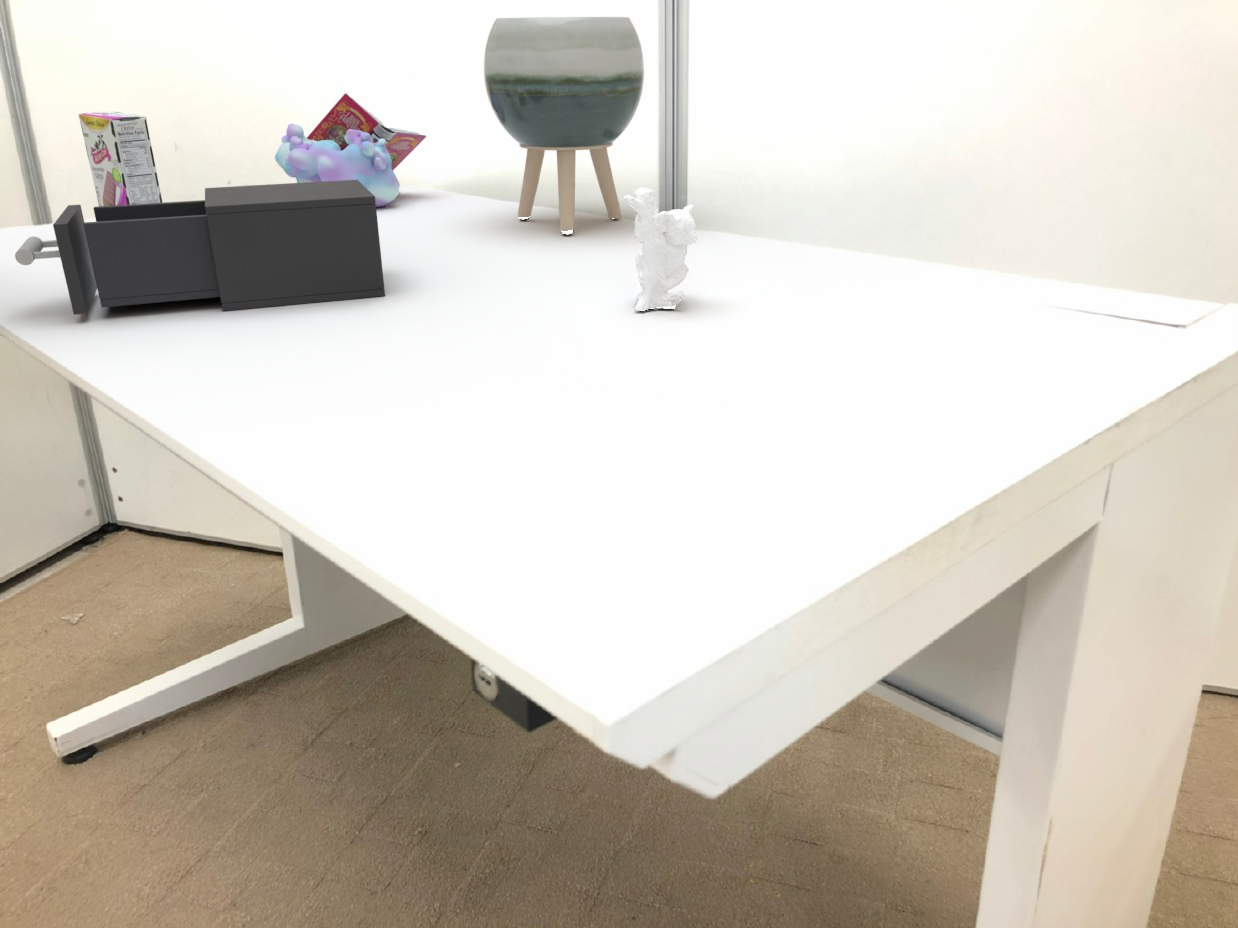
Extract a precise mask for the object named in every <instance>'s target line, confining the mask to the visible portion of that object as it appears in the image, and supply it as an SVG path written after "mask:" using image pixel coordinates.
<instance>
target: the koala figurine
mask: <svg viewBox="0 0 1238 928" xmlns="http://www.w3.org/2000/svg"><path fill="white" fill-rule="evenodd" d="M622 198H623V201H624V202H625V203H626V204H627V205H628V206H629V207H630V208H632V209H633V210H634V212H636V215H635V218H634V236H635V238H636V240H637V241H638V243H641V244H642V248H641V251H639V252H637V253H636V256H635V268H636V270H637V271H636V272H637V279H638V282H639V286H640V287H641V288H642V291H641V292H639V293H637V294H636V296H635V301H636V304H635V307H634V311H636V310H638V311H641V310H647V309H651V308H656V307H663V306H666V307H667V306H669V307H670V306H671V307H672V306H675V305H677V306H679V304H680V303H681V302H682V301H683V300H684V299H685V298H686V293H685V291H684V290H677V291H674V292H669V291H670V290H672V289H674V288H675V287H677V286H680V284H681V283H683V281H684V280H685V279H686V277H687V275H688V273H689V268H688V266H687V264H685V260H686V256H687V254H688V246H691V245H692V244H695V243H696V241H697V240H698V237H697V234H696V232H695V230H696V228H697V224H696V220H695V219H694V217H693V214H694V213H693V212H694V210H695V209H694V208H695V206H694V205H693V204H688V205H686V206H684V207H683V208H682V209H681V208H675V209H671V210H662V211H660V212H659V206H658V202H657V201H658V200H657V193H656V191H654V189H652V188H647V187H643V186H641V187H638V188H637V189H636V190H635V191H634V197H633V196H632V195H630V194H626V195H624V196H623V197H622ZM638 311H637V312H638ZM647 311H648V310H647Z"/></svg>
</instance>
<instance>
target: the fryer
mask: <svg viewBox="0 0 1238 928" xmlns="http://www.w3.org/2000/svg"><path fill="white" fill-rule="evenodd" d="M204 200H205V210H206V216H207V222H208V228H209V234H210V240H211V246H212V251H213V257H214V263H215V269H216V275H217V281H218V287H219V293H220V297H219V298H220V303H221V304H220V305H221V310H222V312H229V311H239V310H250V309H260V308H261V309H262V308H271V307H282V306H293V305H303V304H314V303H324V302H336V301H346V300H359V299H368V298H378V297H379V298H380V297H385V296H386V291H385V281H384V271H383V261H382V253H381V252H382V251H381V240H380V233H379V223H378V222H379V221H378V213H377V207H376V204H375V203H376V202H375V196H374V195H373V194H372V193H371V192H370V191H369V190H368V189H367V188H366V187H365V186H364V185H363V184H362V183H360V182H359V181H358V180H342V181H324V182H306V183H297V182H292V183H291V182H289V183H273V184H271V183H270V184H254V185H253V184H252V185H238V186H237V185H236V186H218V187H217V186H216V187H205V188H204Z"/></svg>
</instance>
